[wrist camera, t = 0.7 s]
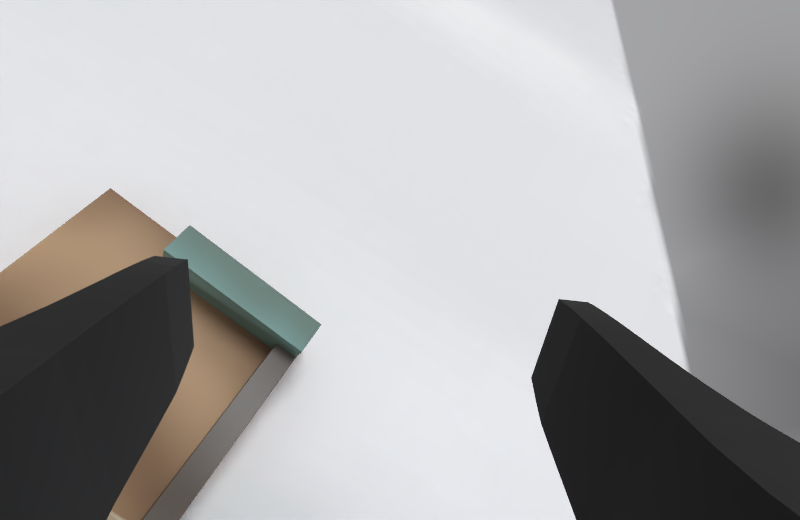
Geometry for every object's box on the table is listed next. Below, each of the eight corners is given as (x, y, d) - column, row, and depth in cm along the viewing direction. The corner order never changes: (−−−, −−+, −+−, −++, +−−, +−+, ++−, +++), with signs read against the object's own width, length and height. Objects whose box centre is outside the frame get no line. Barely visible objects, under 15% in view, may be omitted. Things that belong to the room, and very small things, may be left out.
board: (7, 751, 15) (-23, 812, 12) (-338, 559, 14) (-462, 578, 11) (301, 345, 24) (323, 325, 21) (111, 204, 23) (108, 163, 20)
